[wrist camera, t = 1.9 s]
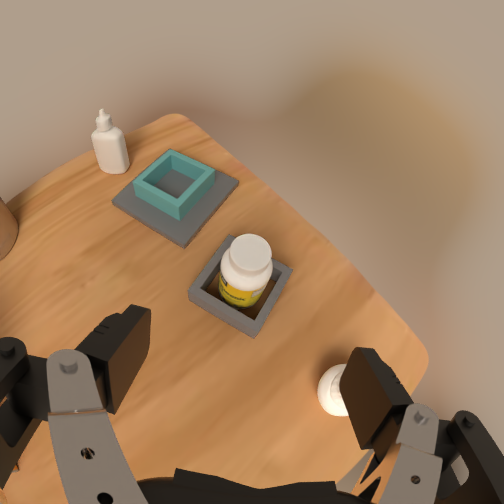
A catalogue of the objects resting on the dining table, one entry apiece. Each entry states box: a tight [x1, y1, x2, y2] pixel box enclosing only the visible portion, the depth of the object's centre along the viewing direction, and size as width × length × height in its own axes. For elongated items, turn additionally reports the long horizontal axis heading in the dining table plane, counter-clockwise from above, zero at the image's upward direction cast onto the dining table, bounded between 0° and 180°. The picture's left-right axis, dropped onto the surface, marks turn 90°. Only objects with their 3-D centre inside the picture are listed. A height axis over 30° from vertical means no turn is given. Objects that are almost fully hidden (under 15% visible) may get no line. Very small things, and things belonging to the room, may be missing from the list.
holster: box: [188, 234, 293, 338], centre depth 33 cm, size 9×9×3 cm
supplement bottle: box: [218, 234, 273, 309], centre depth 30 cm, size 5×5×10 cm
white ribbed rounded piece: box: [317, 364, 348, 416], centre depth 26 cm, size 6×6×7 cm
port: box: [111, 149, 239, 249], centre depth 39 cm, size 14×14×4 cm
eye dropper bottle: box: [91, 109, 130, 174], centre depth 37 cm, size 4×6×12 cm
